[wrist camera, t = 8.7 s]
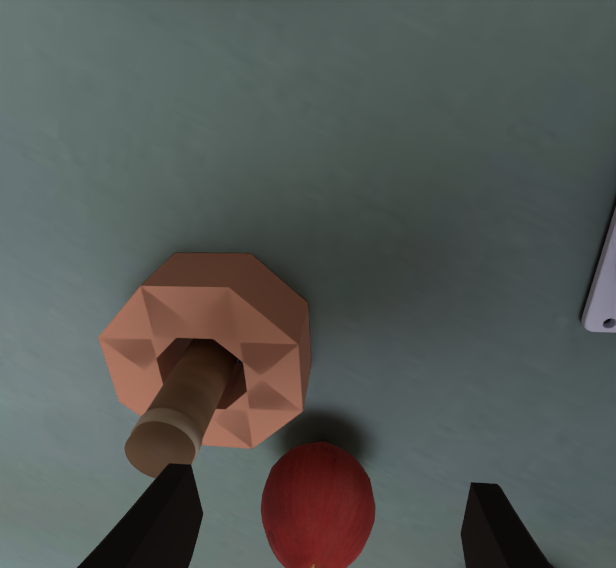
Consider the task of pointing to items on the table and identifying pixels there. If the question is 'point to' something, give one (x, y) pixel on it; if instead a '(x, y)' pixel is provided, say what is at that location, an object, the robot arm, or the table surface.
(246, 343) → the orange octagonal ring
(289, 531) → the onion
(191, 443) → the case
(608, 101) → the table surface
